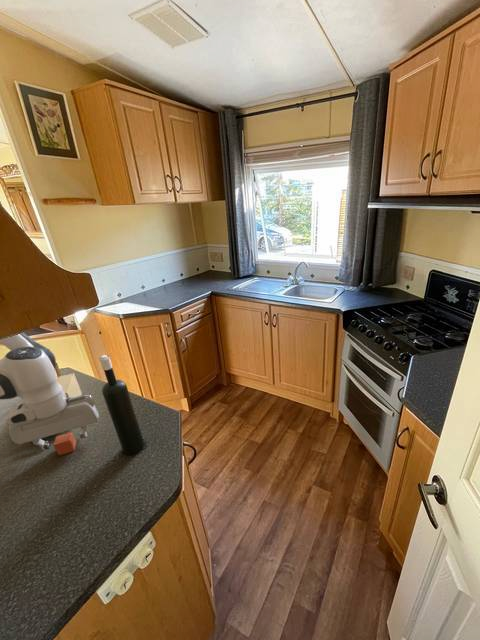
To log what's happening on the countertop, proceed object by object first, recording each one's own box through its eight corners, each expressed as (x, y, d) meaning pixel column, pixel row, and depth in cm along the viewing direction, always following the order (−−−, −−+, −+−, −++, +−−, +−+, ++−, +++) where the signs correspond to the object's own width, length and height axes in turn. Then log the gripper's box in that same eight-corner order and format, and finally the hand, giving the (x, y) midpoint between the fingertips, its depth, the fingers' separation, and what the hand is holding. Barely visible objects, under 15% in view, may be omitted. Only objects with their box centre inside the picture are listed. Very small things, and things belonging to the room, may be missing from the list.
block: (58, 455, 83) (53, 445, 81) (61, 446, 86) (56, 436, 85) (74, 450, 85) (69, 440, 83) (76, 441, 88) (72, 431, 86)
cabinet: (76, 416, 100) (67, 392, 96) (33, 427, 95) (20, 403, 91) (82, 394, 112) (73, 373, 108) (43, 404, 107) (33, 382, 103)
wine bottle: (125, 458, 81) (91, 364, 68) (121, 446, 85) (89, 355, 73) (146, 449, 84) (118, 357, 71) (142, 437, 88) (114, 349, 75)
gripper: (91, 387, 85) (105, 424, 91) (6, 408, 78) (27, 447, 84) (89, 398, 80) (104, 437, 86) (-3, 422, 73) (20, 462, 78)
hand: (65, 442), depth 85 cm, fingers open, 8 cm apart
